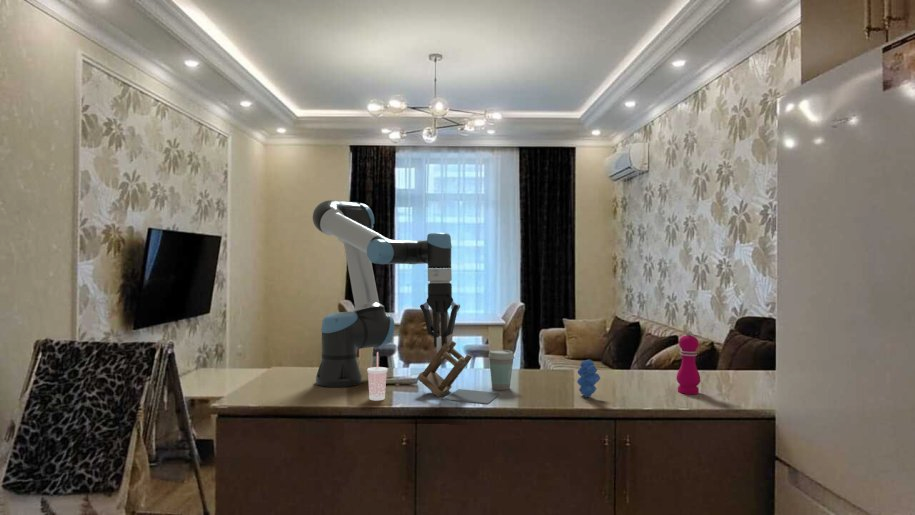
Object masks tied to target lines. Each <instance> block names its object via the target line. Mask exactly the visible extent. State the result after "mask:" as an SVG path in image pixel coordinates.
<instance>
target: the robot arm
mask: <svg viewBox="0 0 915 515" xmlns="http://www.w3.org/2000/svg"><path fill="white" fill-rule="evenodd" d="M312 223H313V224H314V226H315V228H316V229H317V230H318V231H319V232H321V233H323V234H324V235H327V236H334V237H336V238H337V239H338V241H339V242H340V243H342V244H343V247H344V251H345V252H344V253H345V256H346V264H347V268H348V269H347V270H348V273H349V279H350V286H351V292H352V297H353V301H354V302H353V303H354V309H353V310H352V311H343V312H335V313H329V314H327V315H325V316H324V317H323V319H322V322H321V328H320V330H321V361H320V363H319V366H318V370H317V373H316V376H315V384H316V385H318V386H320V387H325V388H326V387H328V388H344V387H346V388H347V387H352V386H353V387H354V386H358V385H360V384H362V381H363V380H362V373H361V370H360V366H359V363H358V357H357V356H358V355H357V352H358V350H360V349H367V348H368V349H369V348H378V347H382V346H386V345H388V344H389V343H390V342H391V340H392V339H393V337H394V334H395V329H396V328H395V327H396V324H395V320H394V318H393V316H392V315H391V314H390V313H388V312H386V310H385V305H383V304H381V303H380V300H379V295H378V290H377V285H376V280H375V274H374V269H373V264H377V265H399V264H400V265H402V264H403V265H420V264H427V281H428V282H429V283H427V299H426V301H425V302H424V303H423V304H420V305H419V308H420V309H421V311H422V313H423V318H424V322H425V327H426V330H427V334H428V335H429V336H432V337H433V346H434V348H436V354H437V353H438V351H439V350H440V349H441V347H442V346H443V345H444V343H445V344H447V343H448V342H447V341H448V337H449V336H451V335H453V333H454V329H455V323H456V320H457V315H458V312H459V309H460V308H461V305H460V304H457V303H456V302H454V299H453V297H452V296H453V287H452V286H453V285H452V282H451V281H452V276H453V275H452V249H453V248H452V238H451V235H450V233H448V232H432V233H431V232H430V233H428V234H427V235H426V236H427V237H426V240H406V239H405V240H404V239H403V240H402V239H390V238H388V237H385V236H384V235H382V234H380V233H379V232H376V231H375V230H374V225H375V216H374V213H373V210H372V209H371V208H370V206H368V205H367V204H365V203H362V202H358V201H344V200H343V201H342V200H341V201H340V200H335V199H334V200H333V199H331V200H325V201H322V202H320V203H319V204H317V206H316V207H315V208H314V210H313V212H312ZM429 308H430V309H431V311H432V312H430V310H429ZM450 308H451V311H450V315H449V319H448V313H449V312H448V310H449V309H450ZM431 313H432V317H431ZM447 345H448V344H447ZM441 358H444V357H443V356H442V357H441Z"/></svg>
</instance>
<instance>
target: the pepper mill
mask: <svg viewBox="0 0 915 515" xmlns="http://www.w3.org/2000/svg"><path fill="white" fill-rule="evenodd" d="M692 334H693V333H692V331H691V330H687V331H685V335H683V336H681V337H680V339H679V340H678V345H679V348H680V355H681V365H680V367H679V369H678V371H677V373H676V378H675V379H676V381H677V383H678V384H679V385H678V386H677V392H678V393H679V392H681V393H680V394H683V393H685V394H684V395H691V394H694V395H698V394H699V390H700V389H699V386H698V385H699V384H700V383H701V376H700V373H699V371H698V367H697V364H696V356H698V354H697V353H698V351H697V349H698V348H699V346H700V343H699V339H698V338H697V337H696V336H694V335H692ZM697 393H698V394H697Z"/></svg>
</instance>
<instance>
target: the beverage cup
mask: <svg viewBox="0 0 915 515" xmlns="http://www.w3.org/2000/svg"><path fill="white" fill-rule="evenodd" d="M388 369H389V368H388V367H383V366H379V351H377V352H376V366H372V367H368V368H367V369H366V370H367V371H366V372H367V377H368V379H367V380H368V400H371V401H383V400H385V399H386V388H387V387H386V384H387V373H388V371H389V370H388Z"/></svg>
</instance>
